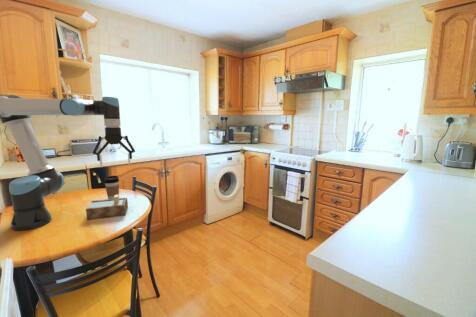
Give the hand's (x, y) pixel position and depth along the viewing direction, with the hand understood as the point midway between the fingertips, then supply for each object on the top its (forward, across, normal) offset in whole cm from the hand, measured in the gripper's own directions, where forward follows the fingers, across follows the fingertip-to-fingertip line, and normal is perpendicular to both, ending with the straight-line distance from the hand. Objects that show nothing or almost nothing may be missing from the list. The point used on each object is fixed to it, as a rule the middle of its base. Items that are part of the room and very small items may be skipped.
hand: (115, 165), depth 129 cm
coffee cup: (+27, -4, +19) cm, 33 cm away
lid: (+21, -6, -1) cm, 22 cm away
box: (+26, -5, -2) cm, 27 cm away
